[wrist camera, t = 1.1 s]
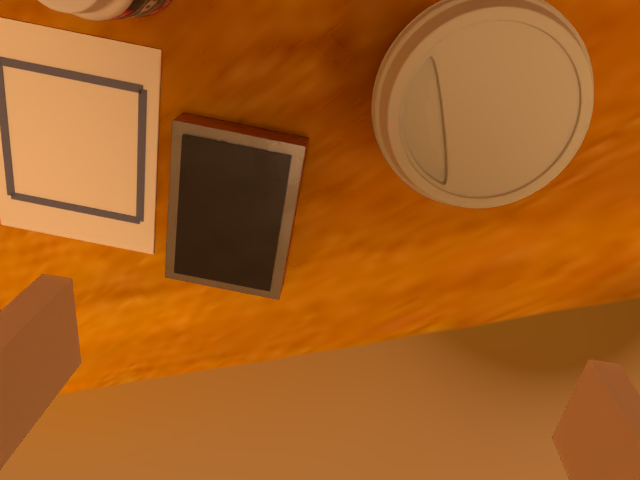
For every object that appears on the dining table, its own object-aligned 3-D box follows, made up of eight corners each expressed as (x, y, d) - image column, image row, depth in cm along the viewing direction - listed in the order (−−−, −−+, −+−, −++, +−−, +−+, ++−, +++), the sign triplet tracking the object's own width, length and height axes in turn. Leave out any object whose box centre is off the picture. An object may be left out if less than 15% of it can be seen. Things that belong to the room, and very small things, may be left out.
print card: (-21, 12, 30) (-25, 12, 30) (162, 49, 30) (160, 50, 30) (2, 223, 36) (0, 225, 36) (154, 253, 37) (152, 255, 36)
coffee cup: (406, -38, 27) (434, -55, 17) (549, 23, 28) (663, 45, 17) (347, 112, 31) (338, 177, 20) (474, 162, 32) (530, 250, 21)
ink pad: (183, 112, 32) (170, 121, 30) (308, 137, 32) (305, 148, 30) (174, 263, 37) (163, 279, 35) (283, 284, 37) (278, 302, 35)
